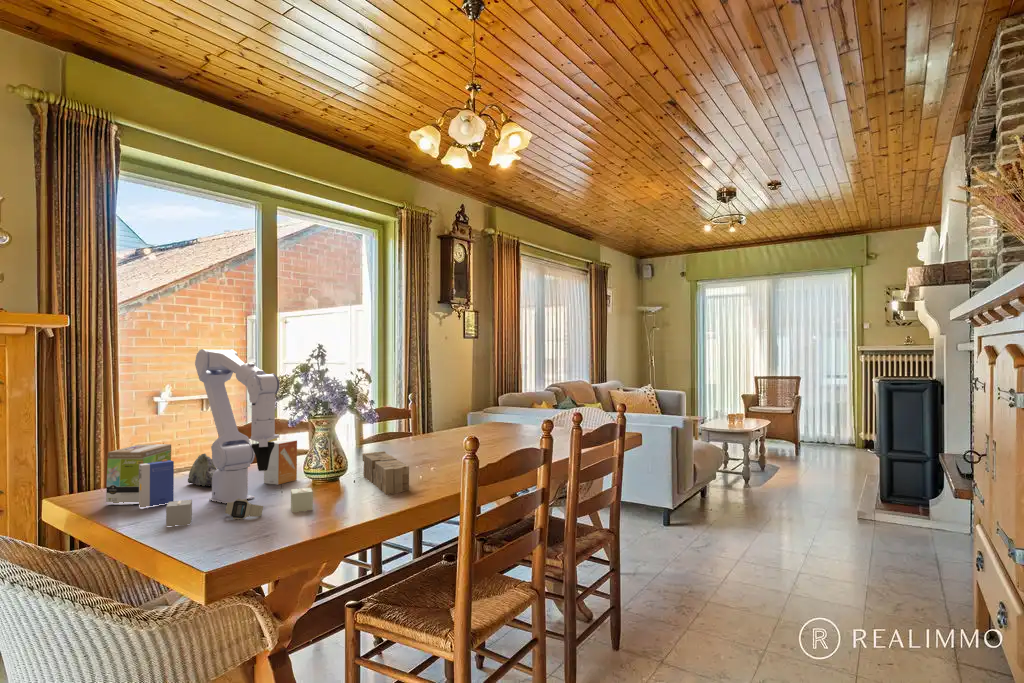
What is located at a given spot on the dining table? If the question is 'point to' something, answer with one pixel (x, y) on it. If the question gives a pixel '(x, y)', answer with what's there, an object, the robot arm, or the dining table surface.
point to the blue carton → (156, 483)
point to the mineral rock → (202, 471)
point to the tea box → (131, 469)
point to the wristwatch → (243, 509)
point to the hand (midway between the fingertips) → (262, 470)
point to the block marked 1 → (179, 513)
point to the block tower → (386, 472)
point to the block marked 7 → (301, 499)
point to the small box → (282, 463)
